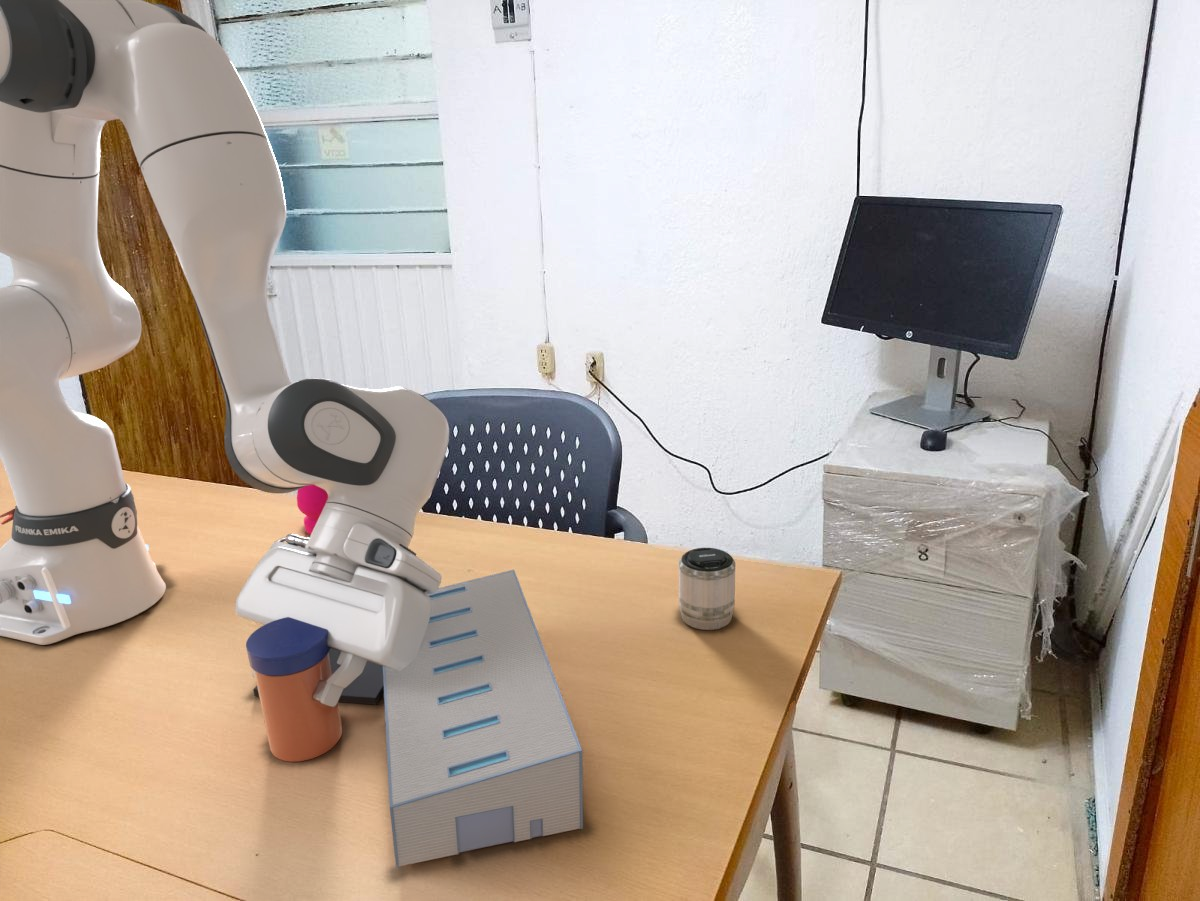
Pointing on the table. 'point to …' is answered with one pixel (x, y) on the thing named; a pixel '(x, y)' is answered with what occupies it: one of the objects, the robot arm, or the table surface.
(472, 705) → the warehouse
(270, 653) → the jam lid
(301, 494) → the pepper mill
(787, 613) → the table surface
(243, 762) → the table surface
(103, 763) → the table surface
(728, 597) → the camera lens
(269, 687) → the jam jar
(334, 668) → the mat
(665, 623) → the table surface
